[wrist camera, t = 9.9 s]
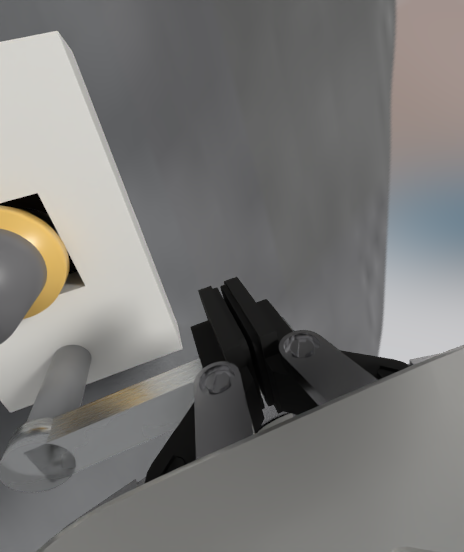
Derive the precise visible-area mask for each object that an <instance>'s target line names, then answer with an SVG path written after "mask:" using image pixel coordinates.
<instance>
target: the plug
mask: <svg viewBox="0 0 464 552" xmlns="http://www.w3.org/2000/svg"><path fill="white" fill-rule="evenodd" d="M68 274H69V256H68V253H67V249H66V247H65V245H64V243H63V241H62V240H61V238H60V236H59V234H58V232H57V230H56V228H55V226H54V224H53V222H52V220H51V218H50V216H49V215H48V214H46V213H44V212H42V211H39V210H35V209H31V208H13V207H8V206H0V344H2V343H3V342H4V341H6V340H7V339H8V338H9V337H10V336H11V335H12V334H13V333H14V331H15V330H16V328H17V327H18V325H19V324H20V323H21V321H22V320H23V319H26V318H29V317H32V316H34V315H37V314H38V313H40V312H42V311H44V310H45V309H46V308H48V307H49V306H50V305H51V304H52V303H53V302H54V301H55V300H56V298H57V297H58V295H59V293H60V292H61V290H62V288H63V286H64V284H65V282H66V280H67V277H68Z"/></svg>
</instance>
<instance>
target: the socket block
mask: <svg viewBox="0 0 464 552" xmlns="http://www.w3.org/2000/svg"><path fill="white" fill-rule="evenodd" d="M36 193H38V195H39V197H40V199H41V201H42V203H43V205H44V207H45V209H46V211H47V213H48V214H49V216H50V218H51V220H52V222H53V224H54V226H55V228H56V230H57V232H58V234H59V236H60V238H61V240H62V241H63V243H64V245H65V247H66V249H67V251H68V253H69V255H70V257H71V259H72V261H73V263H74V265H75V267H76V269H77V272H74V273H71V274H68V277H67V280H66V282H65V284H64V286H63V288H62V290H61V292H60V293H59V295H58V297H57V298H56V300H55V301H54V302H53V303H52V304H51V305H50V306H49V307H48V308H46V309H45V310H44V311H42V312H40V313H38V314H37V315H34V316H32V317H29V318H26V319H23V320H22V321H21V323H20V324H19V325H18V327H17V328H16V330H15V331H14V333H13V334H12V335H11V336H10V337H9V338H8V339H7V340H6V341H4V342H3V343H2V344H0V401H1V402H2V403H3V405H4V406H5V407H6V408H7V410H8V411H9V412H10V413H11V412H14V411H17V410H19V409H22V408H25V407H27V406H30V405H33V404H34V405H33V407H32V409H31V412H30V414H29V417H28V419H27V422H29V421H32V420H35V419H40V418H55V417H57V416H60V415H62V414H65V413H67V412H69V411H72V410H74V409H77V408H79V407H81V404H82V400H83V395H84V391H85V386H86V385H87V384H89V383H92V382H95V381H97V380H100V379H103V378H105V377H108V376H111V375H113V374H116V373H119V372H121V371H124V370H127V369H130V368H132V367H135V366H138V365H140V364H143V363H146V362H148V361H151V360H154V359H156V358H159V357H162V356H164V355H167V354H170V353H173V352H175V351H178V350H181V349H183V348H182V343H181V339H180V334H179V329H178V324H177V322H176V319H175V317H174V314H173V311H172V309H171V306H170V304H169V301H168V298H167V296H166V293H165V291H164V288H163V285H162V283H161V280H160V278H159V275H158V272H157V270H156V267H155V265H154V262H153V260H152V257H151V254H150V252H149V249H148V247H147V244H146V241H145V239H144V236H143V234H142V231H141V228H140V226H139V223H138V221H137V218H136V215H135V213H134V210H133V208H132V205H131V202H130V200H129V197H128V195H127V192H126V189H125V187H124V184H123V182H122V179H121V177H120V174H119V171H118V169H117V166H116V164H115V161H114V158H113V156H112V153H111V151H110V148H109V145H108V143H107V140H106V138H105V135H104V132H103V130H102V127H101V125H100V122H99V119H98V117H97V114H96V112H95V109H94V106H93V104H92V101H91V99H90V96H89V94H88V91H87V88H86V86H85V83H84V81H83V78H82V75H81V73H80V70H79V68H78V65H77V62H76V60H75V57H74V55H73V52H72V51H71V49H70V48H69V46H68V45H67V43H66V42H65V41H64V39H63V38H62V36H61V35H60V34H59V32H58V31H54V32H49V33H44V34H39V35H34V36H29V37H24V38H19V39H13V40H8V41H3V42H0V203H3V202H7V201H10V200H14V199H18V198H21V197H25V196H29V195H32V194H36ZM27 422H26V423H27Z"/></svg>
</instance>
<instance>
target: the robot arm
mask: <svg viewBox="0 0 464 552" xmlns="http://www.w3.org/2000/svg"><path fill="white" fill-rule="evenodd" d="M224 284H225V285H223V286H221V291H222V294H223V297H222V295H221V294H220V292H219V290H218V288H214V289H212V287H211V286H209V287H206V288H204V289H201V290H198V291H199V295H200V298H201V301H202V304H203V307H204V310H205V313H206V316H207V319H208V321H205V322H203V323H200V324H197V325H194V326H192V327H191V330H192V334H193V337H194V341H195V344H196V348H197V351H198V354H199V358H200V361H201V365H202V368H203V369H202V370H201V371H200V372H199V373H198V374H197V376H196V378H195V381H194V403H193V404H192V406H191V407H190V409H189V410H188V412H187V413H186V415H185V416H184V418H183V419H182V421H181V422H180V423H179V425H178V426H177V428H176V429H175V431H174V432H173V434H172V435H171V437H170V438H169V440H168V441H167V443H166V444H165V445H164V447H163V448H162V450H161V451H160V453H159V454H158V456H157V457H156V459H155V460H154V462H153V463H152V465H151V467H150V468H149V470H148V472H147V476H146V477H145V478H144V479H142V480H141V481H139V482H137V481H136V479H135V480H133V481H132V482H130V483H129V484H127V485H126V486H124V487H123V488H121V489H120V490H119V491H117V492H116V493H114V494H113V495H111V496H110V497H108V498H107V499H105V500H104V501H102V502H101V503H99V504H98V505H97V506H95V507H94V508H92V509H91V510H89V511H88V512H86V513H85V514H83V515H82V516H80V517H79V518H78V519H76V520H75V521H73V522H72V523H70V524H69V525H67V526H66V527H65V528H64V529H63V530H61V531H60V532H59V533H58V534H56V535H55V536H54V537H52V538H51V539H50V540H49V541H48V542H47V543H45V544H44V545H43V546H42V547H41V548H40V549H38V550H37V551H36V552H464V345H462V346H460V347H457V348H455V349H451V350H449V351H446V352H444V353H441V354H436V355H431V356H426V357H421V358H416V359H411V360H410V364H406V363H404V362H401V361H397V360H393V359H387V358H381V357H376V356H370V355H364V354H358V353H352V352H346V351H340V350H338V349H337V348H336V347H335V346H333V345H332V344H331V343H329V342H328V341H327V340H326V339H324V338H323V337H322V336H320V335H319V334H317V333H315V332H312V331H308V330H299V331H294V332H293V331H292V329H291V328H290V327H289V326H288V324H287V323H286V322H285V321H284V320H283V318H282V317H281V316H280V315H279V313H278V312H277V311H276V310H275V309H274V307H273V306H272V305H271V304H270V302H269V301H268V300H267V299H265V300H262V301H260V302H257V303H256V302H255V301H254V299H253V298H252V296H251V295H250V294H249V292H248V291H247V290H246V288H245V287H244V286H243V284H242V283H241V282H240V280H239V279H238V278H237V277H235V278H232V279H229V280H226V281H224ZM223 298H224V299H223ZM260 391H261V392H260ZM261 393H262V395H263V397H264V399H265V401H266V403H267V405H268V406H271V405H274V406H275V408H276V410H277V412H278V413H281V412H283V411H285V412H288V413H290V414H287V415H285V416H282V417H280V418H278V419H276V420H274V421H272V422H271V423H269V424H267V425H266V426H264V427H263V428H262V429H261V430H259V429H260V427H261V424H262V422H263V420H264V415H263V412H262V409H264V408H265V407H264V403H263V399H262V396H261Z"/></svg>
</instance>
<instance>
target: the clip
mask: <svg viewBox="0 0 464 552" xmlns="http://www.w3.org/2000/svg"><path fill="white" fill-rule="evenodd" d="M282 318H283V317H282ZM283 320H284V321H285V319H284V318H283ZM285 322H286V321H285ZM286 323H287V322H286ZM287 324H288V323H287ZM288 326H289V327H290V328H291V326H290V325H289V324H288ZM291 329H292V328H291ZM292 331H293V332H294V330H293V329H292ZM202 369H203V368H202V365H201V361H200V358H199V359H196V360H194V361H191V362H189V363H186V364H184V365H182V366H179V367H177V368H174V369H172V370H169V371H167V372H165V373H162V374H160V375H157V376H155V377H152V378H150V379H147V380H145V381H143V382H140V383H138V384H135V385H133V386H130V387H128V388H126V389H123V390H121V391H118V392H116V393H113V394H111V395H108V396H106V397H104V398H101V399H99V400H96V401H94V402H91V403H89V404H87V405H84V406H82V407H79V408H77V409H74V410H72V411H69V412H67V413H65V414H62V415H60V416H57V417H55V418H40V419H35V420H32V421H29V422H27V423H25V424H23V425H22V426H20V427H19V428H18V429H17V430H16V431H15V432H14V433H13V435H12V437H11V439H10V441H9V443H8V446H7V448H6V450H5V452H4V455H3V457H2V459H1V461H0V481H1V482H2V483H3V484H4V485H5V486H7V487H9V488H11V489H13V490H16V491H20V492H42V491H47V490H50V489H53V488H55V487H57V486H59V485H61V484H63V483H64V482H66V481H67V480H68V479H69V478H70V477H71V476H72V474H74V473H76V472H79V471H81V470H83V469H85V468H88V467H90V466H92V465H94V464H97V463H99V462H101V461H104V460H106V459H108V458H110V457H113V456H115V455H117V454H120V453H122V452H124V451H126V450H129V449H131V448H133V447H136V446H138V445H140V444H142V443H145V442H147V441H149V440H151V439H154V438H156V437H158V436H161V435H163V434H165V433H167V432H170V431H172V430H174V429H176V428H177V426H178V425H179V423H180V422H181V421H182V419H183V418H184V416H185V415H186V413H187V412H188V410H189V409H190V407H191V406H192V404H193V403H194V381H195V378H196V376H197V374H198V373H199V372H200V371H201V370H202ZM260 392H261V391H260ZM261 396H262V398H264V397H263V395H262V393H261Z"/></svg>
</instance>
